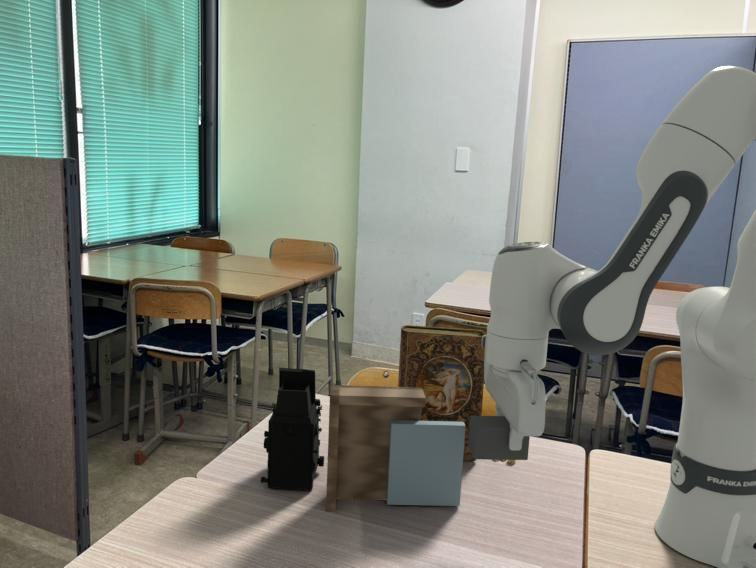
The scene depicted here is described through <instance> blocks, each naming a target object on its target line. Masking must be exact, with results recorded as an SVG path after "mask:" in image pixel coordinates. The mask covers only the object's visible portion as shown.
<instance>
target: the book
mask: <svg viewBox="0 0 756 568" xmlns="http://www.w3.org/2000/svg"><path fill="white" fill-rule="evenodd" d="M483 335H485V332H484V331H483V330H481V329H472V328H471V329H470V328H469V329H468V328H467V329H466V328H455V327H454V328H453V327H439V326H425V325H424V326H423V325H410V324H408V325H407V324H406V325H403V326H401V329H400V344H399V358H398V359H399V360H398V361H399V362H398V376H397V377H398V380H397V381H398V383H397V387H417V388H422V389H423V392H424V395H425V398H426V400H425V407H422V409H421V421H451V422H464V424H465V440H464V453H463V462H464V461H465V462H475V461H477V459H474V457H473V455H472V453H471V451H470V449H469V447H468V442H469V428H470V416H483V415H482V413H483V412H482V411H483V398H484V396H483V395H484V388H485V387H484V386H485V382H484V353H485V351H484V350H483V348H482V337H483Z"/></svg>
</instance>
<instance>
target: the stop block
mask: <svg viewBox="0 0 756 568" xmlns="http://www.w3.org/2000/svg"><path fill="white" fill-rule="evenodd" d="M510 430H511V428H510V423H509V422H508V420H507V419H506V417H505V416H497V415H481V416H470V428H469V442H468V447H469V449H470V451H471V453H472V455H473V457H474V459H476V460H490V461H491V460H492V461H494V460H498V461H501V460H505V461H508V460H516V461H528V460H529V449H530V448H529V447H530V437H531V436H524V437H523V439H522V448H521V450H519V451H518V450H510V448H509V447H508V445H507V438H508V435H509V434H510Z"/></svg>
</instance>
